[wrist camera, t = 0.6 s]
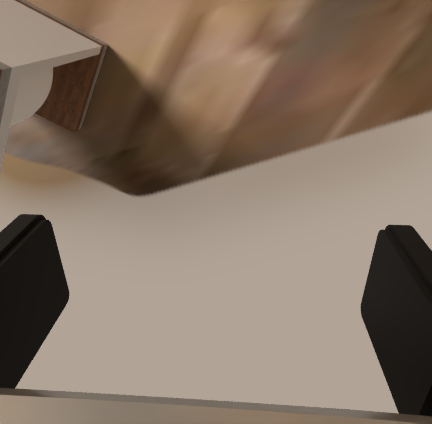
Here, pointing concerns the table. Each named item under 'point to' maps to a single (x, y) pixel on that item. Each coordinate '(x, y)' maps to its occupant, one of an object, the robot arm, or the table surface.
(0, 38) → the display case
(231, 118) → the table surface
